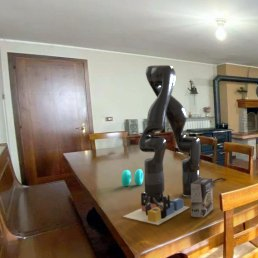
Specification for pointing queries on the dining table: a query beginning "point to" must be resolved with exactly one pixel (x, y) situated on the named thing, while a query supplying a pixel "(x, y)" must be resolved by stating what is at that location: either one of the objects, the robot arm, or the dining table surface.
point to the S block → (154, 214)
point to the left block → (151, 207)
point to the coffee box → (201, 197)
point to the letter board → (142, 216)
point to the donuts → (127, 177)
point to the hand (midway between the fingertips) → (156, 216)
